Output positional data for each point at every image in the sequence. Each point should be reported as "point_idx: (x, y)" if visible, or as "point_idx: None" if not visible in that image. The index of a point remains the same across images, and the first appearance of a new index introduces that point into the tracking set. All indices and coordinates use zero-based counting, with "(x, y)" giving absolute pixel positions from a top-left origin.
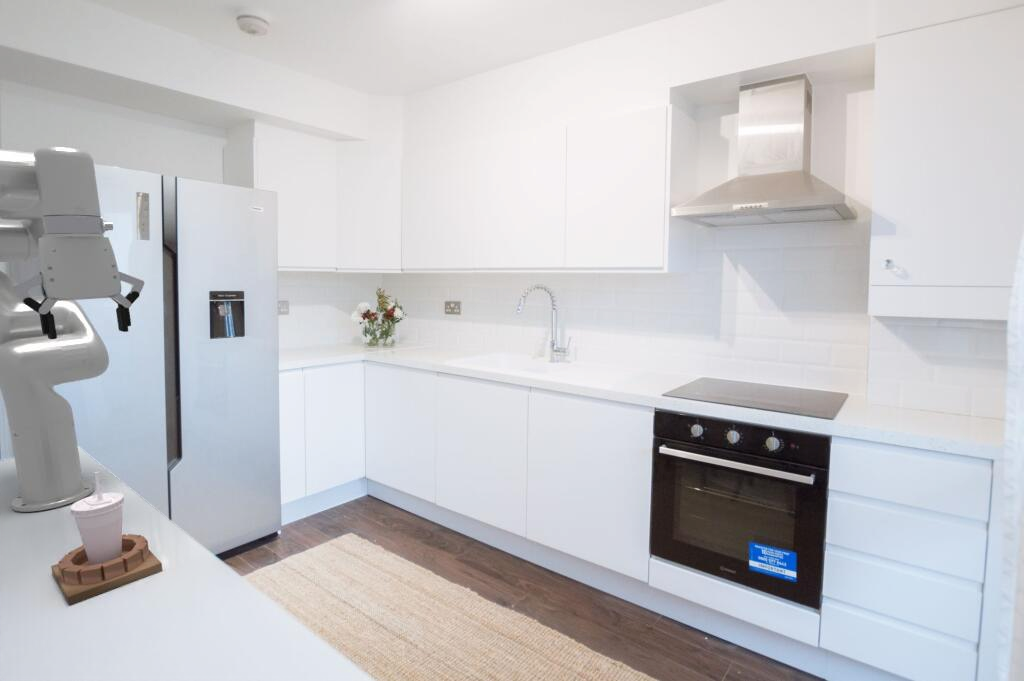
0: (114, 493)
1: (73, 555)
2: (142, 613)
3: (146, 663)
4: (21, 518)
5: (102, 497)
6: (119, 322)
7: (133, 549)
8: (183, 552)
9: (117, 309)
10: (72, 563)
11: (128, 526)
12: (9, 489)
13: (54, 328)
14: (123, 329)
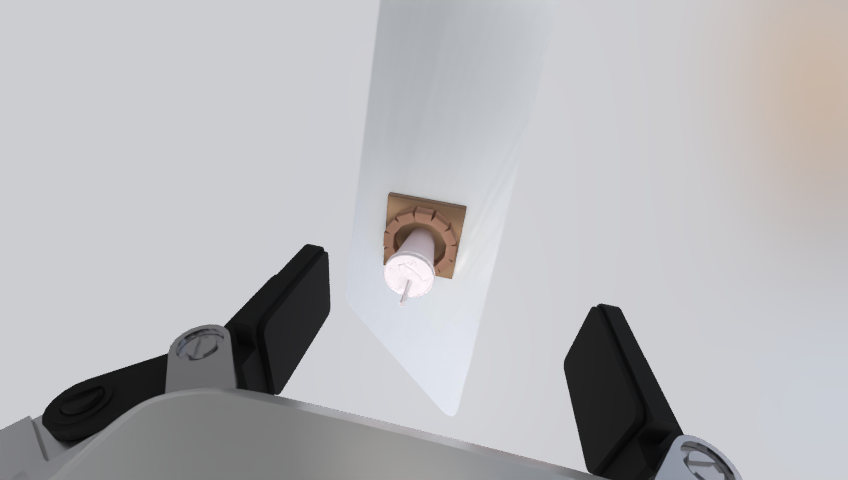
0: (428, 271)
1: (398, 228)
2: (415, 312)
3: (397, 351)
4: None
5: (414, 275)
6: (590, 363)
7: (437, 265)
8: (481, 261)
9: (617, 434)
10: (392, 243)
11: (485, 142)
12: None
13: (308, 341)
14: (565, 371)
